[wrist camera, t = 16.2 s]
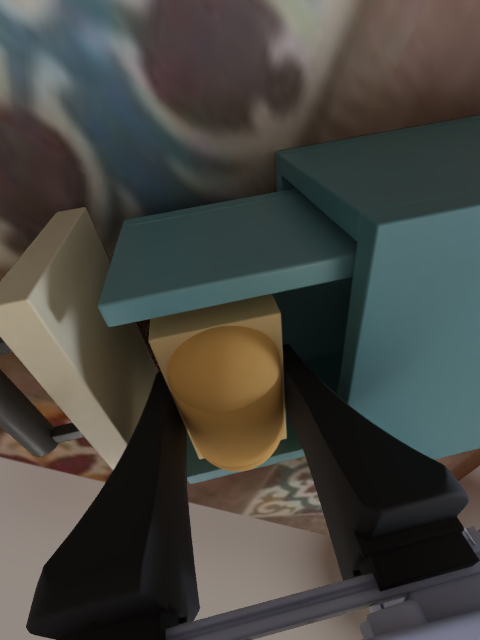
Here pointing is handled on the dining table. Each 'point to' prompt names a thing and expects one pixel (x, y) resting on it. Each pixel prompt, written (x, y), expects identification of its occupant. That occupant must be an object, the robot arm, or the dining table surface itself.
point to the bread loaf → (226, 378)
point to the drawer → (163, 309)
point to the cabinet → (407, 275)
